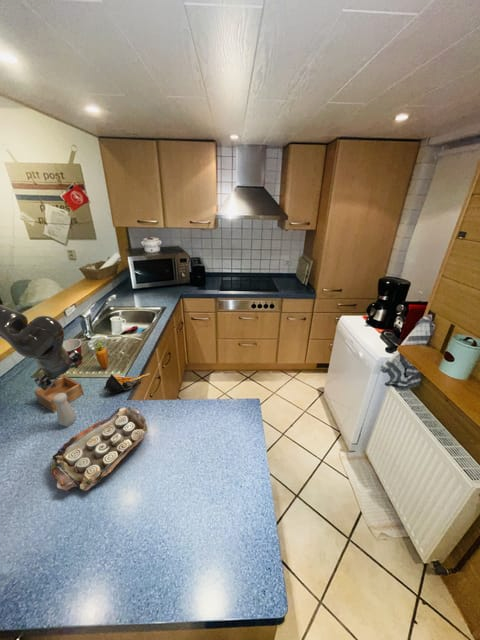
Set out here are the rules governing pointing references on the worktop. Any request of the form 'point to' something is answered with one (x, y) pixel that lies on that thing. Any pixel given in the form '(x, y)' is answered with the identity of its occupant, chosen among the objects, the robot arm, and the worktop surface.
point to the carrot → (102, 356)
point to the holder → (62, 386)
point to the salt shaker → (64, 410)
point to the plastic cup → (73, 347)
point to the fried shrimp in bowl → (121, 383)
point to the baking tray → (97, 449)
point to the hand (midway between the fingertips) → (64, 375)
